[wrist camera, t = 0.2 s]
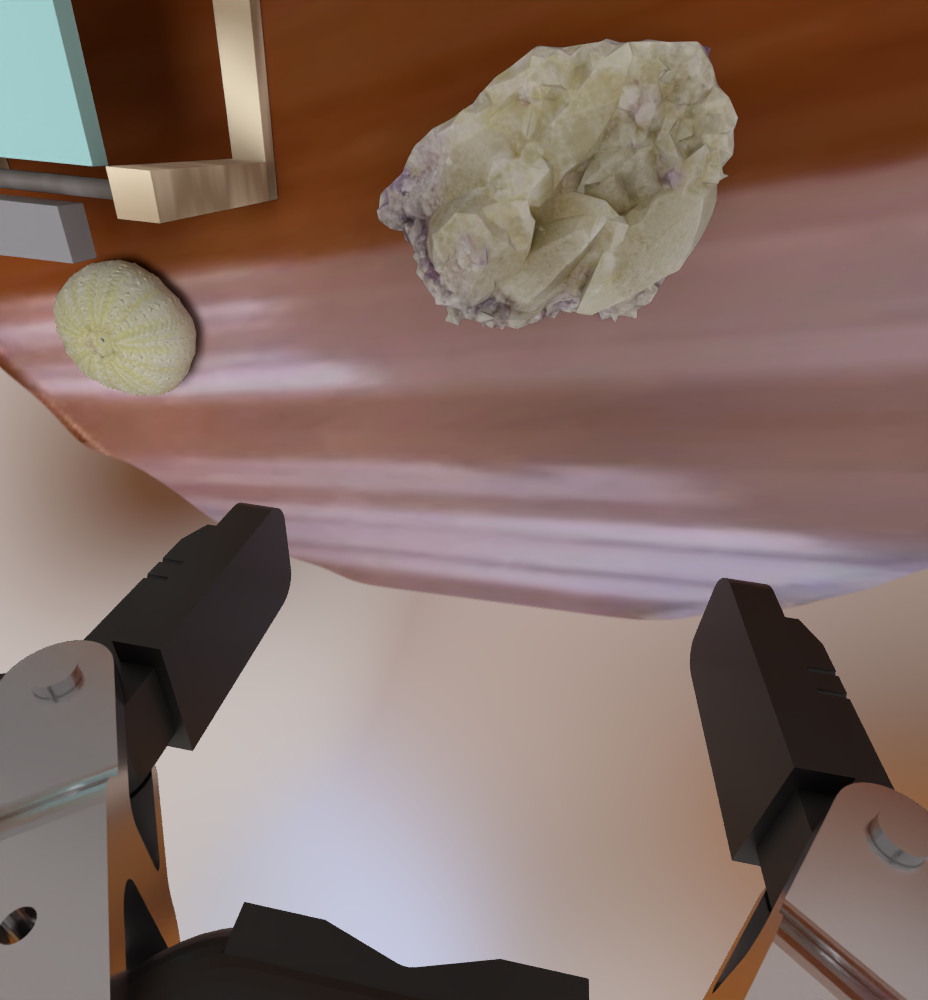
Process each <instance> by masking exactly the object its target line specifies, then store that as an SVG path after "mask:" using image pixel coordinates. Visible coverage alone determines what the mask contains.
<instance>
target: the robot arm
mask: <svg viewBox="0 0 928 1000" xmlns="http://www.w3.org/2000/svg"><path fill="white" fill-rule="evenodd" d="M290 581H291V567H290V559H289V550H288V542H287V534H286V526H285V519H284V515H283V512H282V511H281V510H280V509H279V508H273V507H266V506H260V505H253V504H247V503H238V504H236V505H235V506H234V507H233V508H232V509H231V510H230V511H229V512H228V513H227V515H226V516H225V517H224V518H223V519H222V520H221V521H220V522H219V523H218V524H217V526H214V525H206V526H204V527H202V528H201V529H199V530H197V531H195V532H193V533H191V534H190V535H188V536H186V537H184V538H183V539H181V540H180V541H179V542H178V543H177V544H176V545H175V546H174V547H173V548H172V549H171V550H170V551H169V552H168V553H167V555H165V557H164V558H163V562H159V563H158V564H157V565H156V566H155V567H154V568H153V569H152V570H151V571H150V572H149V573H148V576H147V578H143V579H142V580H141V581H140V582H139V583H138V584H137V585H136V587H135V588H134V589H132V591H131V592H130V593H129V594H128V595H127V596H126V597H125V598H124V599H123V600H122V601H121V602H120V603H119V604H118V605H117V606H116V607H115V608H114V609H113V610H112V611H111V612H110V613H109V614H108V615H107V616H106V617H105V618H104V619H103V620H102V622H101V623H100V624H99V625H98V626H97V627H96V628H95V629H94V630H93V631H92V632H91V633H90V634H89V635H88V636H87V637H86V638H85V639H84V640H74V641H66V642H62V643H58V644H54V645H51V646H48V647H46V648H43V649H41V650H39V651H36V652H35V653H33V654H31V655H29V656H27V657H26V658H24V659H23V660H21V661H20V662H18V663H17V664H16V665H15V666H13V667H12V668H11V669H10V670H9V671H8V672H7V673H5V674H0V1000H589V979H587V978H583V977H578V976H574V975H570V974H564V973H561V972H556V971H552V970H547V969H543V968H538V967H533V966H529V965H525V964H520V963H516V962H511V961H506V960H502V959H496V960H486V961H477V962H466V963H456V964H446V965H436V966H426V967H416V968H415V967H414V968H413V967H410V968H409V967H405V966H402V965H400V964H397V963H396V962H394V961H392V960H390V959H389V958H387V957H386V956H384V955H382V954H381V953H379V952H377V951H376V950H374V949H372V948H371V947H369V946H367V945H366V944H364V943H362V942H361V941H359V940H357V939H356V938H354V937H352V936H351V935H349V934H348V933H346V932H344V931H343V930H341V929H339V928H337V927H336V926H334V925H333V924H331V923H329V922H328V921H326V920H323V919H318V918H314V917H308V916H305V915H300V914H296V913H291V912H287V911H282V910H278V909H273V908H269V907H264V906H260V905H255V904H251V903H246V902H244V904H243V906H242V909H241V911H240V913H239V916H238V918H237V920H236V923H235V925H234V927H233V928H227V929H221V930H217V931H213V932H209V933H204V934H201V935H198V936H195V937H193V938H190V939H187V940H185V941H182V942H180V937H179V930H178V925H177V920H176V915H175V911H174V907H173V903H172V899H171V895H170V890H169V885H168V877H167V867H166V857H165V847H164V838H163V827H162V816H161V806H160V796H159V786H158V775H157V770H156V766H155V763H156V762H157V760H158V759H159V757H160V756H161V754H162V753H163V751H164V750H165V748H166V747H167V746H171V747H176V748H181V749H186V750H191V751H193V750H194V748H195V746H196V745H197V743H198V741H199V740H200V738H201V737H202V735H203V733H204V732H205V730H206V729H207V727H208V725H209V724H210V722H211V720H212V719H213V717H214V715H215V714H216V712H217V711H218V709H219V707H220V706H221V704H222V703H223V701H224V699H225V697H226V696H227V694H228V693H229V691H230V690H231V688H232V686H233V685H234V683H235V682H236V680H237V678H238V677H239V675H240V673H241V672H242V670H243V668H244V667H245V665H246V664H247V662H248V660H249V659H250V657H251V656H252V654H253V652H254V651H255V649H256V647H257V646H258V644H259V642H260V641H261V639H262V638H263V636H264V634H265V633H266V631H267V630H268V628H269V626H270V624H271V623H272V622H273V620H274V618H275V617H276V615H277V613H278V612H279V610H280V608H281V607H282V605H283V603H284V602H285V599H286V597H287V594H288V591H289V587H290ZM690 670H691V677H692V681H693V686H694V690H695V694H696V699H697V704H698V708H699V713H700V717H701V722H702V726H703V731H704V736H705V740H706V745H707V749H708V754H709V758H710V763H711V767H712V772H713V776H714V781H715V785H716V790H717V794H718V799H719V804H720V808H721V813H722V817H723V822H724V826H725V831H726V835H727V840H728V844H729V849H730V853H731V858H732V860H733V861H738V862H743V863H748V864H753V865H758V866H761V870H762V874H763V878H764V881H765V885H766V887H765V888H764V890H763V891H762V892H761V894H760V895H759V897H758V899H757V901H756V902H755V904H754V906H753V908H752V910H751V912H750V913H749V916H748V917H747V919H746V921H745V923H744V925H743V927H742V928H741V930H740V932H739V934H738V936H737V938H736V939H735V941H734V943H733V945H732V947H731V949H730V950H729V952H728V954H727V956H726V958H725V960H724V962H723V964H722V965H721V967H720V969H719V971H718V973H717V975H716V977H715V978H714V980H713V982H712V984H711V986H710V987H709V989H708V991H707V993H706V995H705V997H704V999H703V1000H928V811H927V810H926V809H925V808H923V807H922V806H921V805H919V804H918V803H916V802H915V801H913V800H912V799H910V798H908V797H907V796H905V795H903V794H902V793H899V792H897V791H895V790H894V788H893V786H892V784H891V782H890V780H889V778H888V776H887V774H886V772H885V770H884V768H883V766H882V764H881V762H880V760H879V758H878V756H877V754H876V752H875V750H874V748H873V745H872V743H871V742H870V739H869V737H868V736H867V733H866V731H865V729H864V727H863V725H862V723H861V721H860V719H859V717H858V715H857V713H856V711H855V709H854V707H853V705H852V703H851V701H850V699H847V698H846V694H847V693H846V691H845V689H844V687H843V685H842V683H841V680H840V678H839V677H838V676H836V675H835V672H836V671H835V668H834V666H833V664H832V662H831V660H830V658H829V656H828V654H827V652H826V650H825V648H824V646H823V644H822V643H821V642H820V641H819V640H818V639H817V638H816V637H815V636H814V635H813V634H812V633H811V632H810V631H809V630H808V629H807V628H806V627H805V625H803V623H802V622H801V621H800V620H799V619H793V618H787V617H785V616H784V614H783V611H782V609H781V607H780V605H779V602H778V600H777V598H776V596H775V593H774V591H773V589H772V588H771V587H770V586H769V585H767V584H760V583H754V582H747V581H741V580H734V579H728V578H721V579H720V580H719V581H718V582H717V584H716V586H715V588H714V590H713V593H712V595H711V597H710V600H709V602H708V605H707V607H706V610H705V612H704V614H703V617H702V619H701V622H700V624H699V626H698V629H697V632H696V634H695V636H694V639H693V642H692V647H691V653H690Z"/></svg>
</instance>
